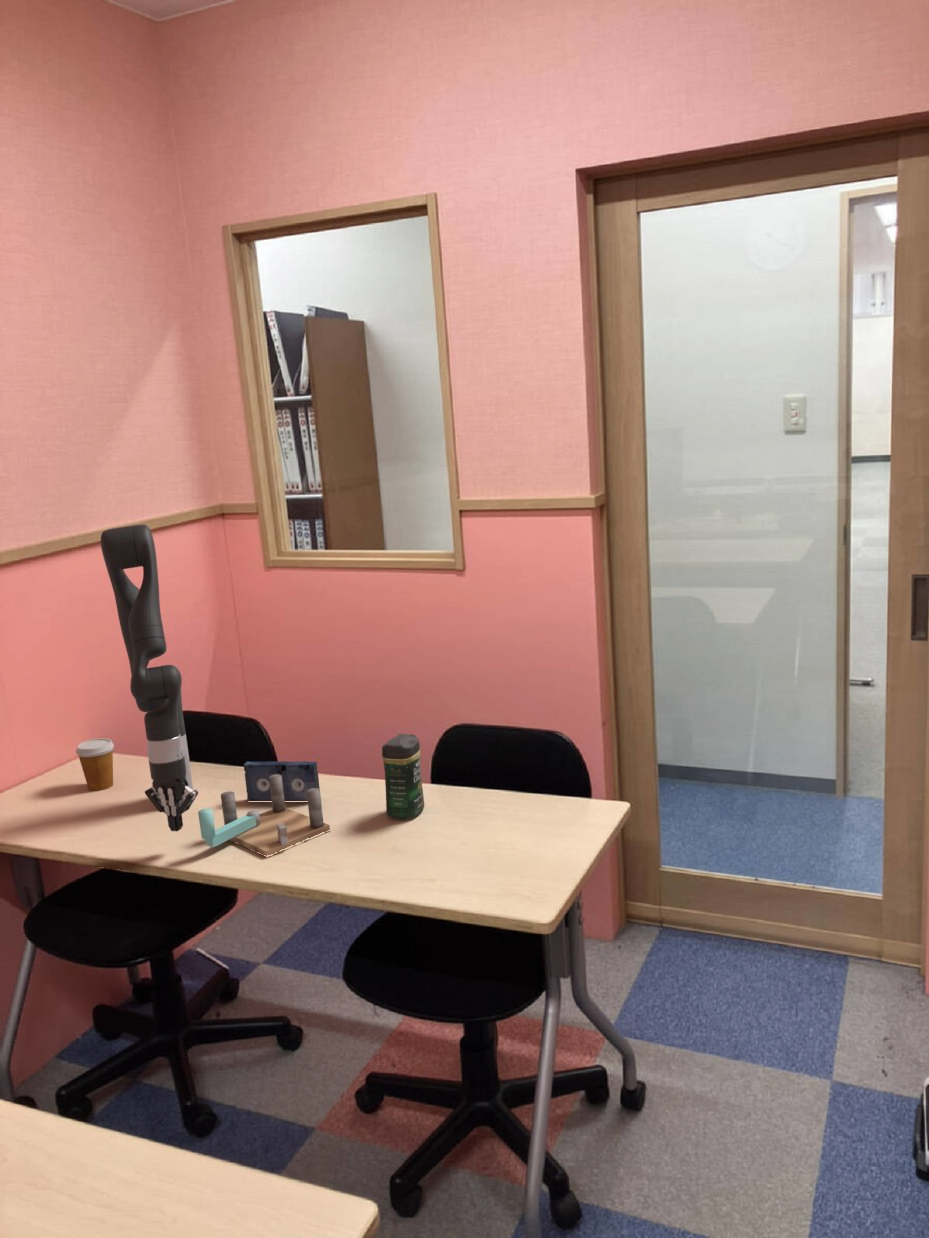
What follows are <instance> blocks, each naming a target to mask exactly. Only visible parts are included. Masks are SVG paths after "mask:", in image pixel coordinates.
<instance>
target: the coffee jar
mask: <svg viewBox="0 0 929 1238" xmlns="http://www.w3.org/2000/svg"><path fill="white" fill-rule="evenodd" d="M381 756H382V757H381V758H382V762H383V768H384V783H385V807H386V815H387V817H389V818H392V819H394V820H399V821H403V820H409V819H414V818H416V817H417V816H418V815H419V814H421V813H422V811H423V810H424V808H425V797H424V789H423V782H422V773H421V770H422V769H421V747H420V740H419V738H418V737H417V736H416V735H415V734H410V733H398V734H397V735H396V736H393V737H392V738H390V739H388V740H387V741H386V742H385V743H384V744H383V745H382V747H381Z"/></svg>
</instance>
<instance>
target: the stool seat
mask: <svg viewBox="0 0 929 1238" xmlns="http://www.w3.org/2000/svg"><path fill="white" fill-rule="evenodd" d="M269 784H270V792H271V801H272V802H271V806H272V807H271V808H272V809H268V810H266V811H264V812H262V813H259V817H260V824H259V825H257V826H255V827H253V828H251V829H249V830H247V831H245V832H243V833H241V834H239V835H237V836H235V837H233V838H231V839H230V840H232V841H233V843H235V842H237V843H239V844H241V845H243V846H245V847H247V848H248V849H247V848H246V849H247V850H249V849H252V850H254V851H255V853H256V852H259V853H261V854H263V855H266V856H267V855H271V854H274V853H275V852H279V851H280V850H282V849H285V848H287V847H289V846H291V845H295V844H296V843H298V842H302V841H303V840H305V839H307V838H311V837H313V836H315V835H318V834H320V833H322V832H326V831H328V830H330V831H331V827H330V824H328V823H325V822H324V817H323V815H324V814H323V806H322V796H321V789H318V788H312V789H309V790H307V799H308V803H307V807H308V808H307V809H308V815H306V814H303V813H300V812H298V811H295V810H293V809H291V808H288V807H286V804H285V801H284V792H283V783H282V775H280V774H275V775H271V776H269ZM220 799H221V808H222V816H223V817H222V818H223V824H224V825H226V824H228V823H231V822H233V821H235V820H237V819H238V813H237V803H236V797H235V792H234V791H225V792H222V793H221V794H220ZM224 825H223V826H224ZM230 840H229V841H230ZM232 841H231V842H232ZM237 843H236V844H237ZM239 844H238V845H239ZM241 845H240V846H241ZM243 846H242V847H243ZM245 847H244V848H245ZM252 850H251V851H252ZM254 851H253V852H254Z"/></svg>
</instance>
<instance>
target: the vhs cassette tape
mask: <svg viewBox="0 0 929 1238" xmlns="http://www.w3.org/2000/svg"><path fill="white" fill-rule="evenodd" d="M243 770H244V781H245V787H246V795H247V797H246V798H247V802H248V801H271V792H270V784H269V776H271V775H275V774H280V775H282V783H283V792H284V801H308V799H307V790H309V789H312V788H318V789H320V781H319V771H318V761H297V760H296V761H286V760H285V761H269V760H268V761H246V762H245V763H244V764H243ZM320 790H321V789H320Z"/></svg>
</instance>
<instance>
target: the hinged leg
mask: <svg viewBox="0 0 929 1238" xmlns="http://www.w3.org/2000/svg"><path fill="white" fill-rule="evenodd" d="M197 813H198V814H197V815H198V822H199V828H200V829H199V830H200V837H201V839H203V840H205V845H206V846H208V847H211V848H215V847H218V845H222V844H223V843H225V842H226V841H230V840H229V839H231V838H233V837H235V836H237V835H239V834H241V833H243V832H245V831H247V830H249V829H251V828H253V827H255V826H257V825H259V824H260V817H259V814H260V811H259V810H257V809H253V810H252V809H251V810H249V811H247V812H246V813H247V814H244V815H242V816H241V817H239V818H237V820H235V821H233V822H231V823H228V824H226V825H223V826H221V827H218V828H217V829H215V820H214V812H213V809H211V808H203V809H200V810H198V812H197Z"/></svg>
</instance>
